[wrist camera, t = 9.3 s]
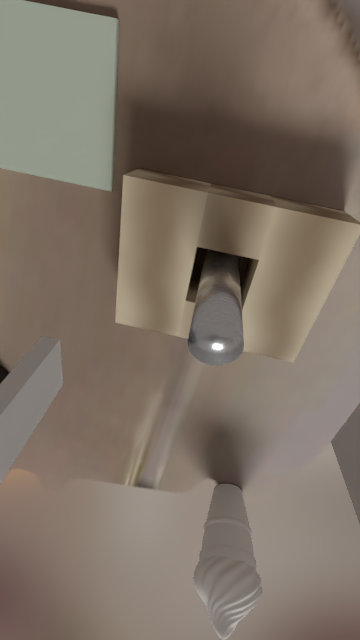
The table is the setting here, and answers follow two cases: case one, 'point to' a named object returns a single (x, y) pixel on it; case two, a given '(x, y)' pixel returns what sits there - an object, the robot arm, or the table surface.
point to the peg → (217, 311)
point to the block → (234, 238)
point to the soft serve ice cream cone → (227, 561)
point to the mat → (58, 92)
